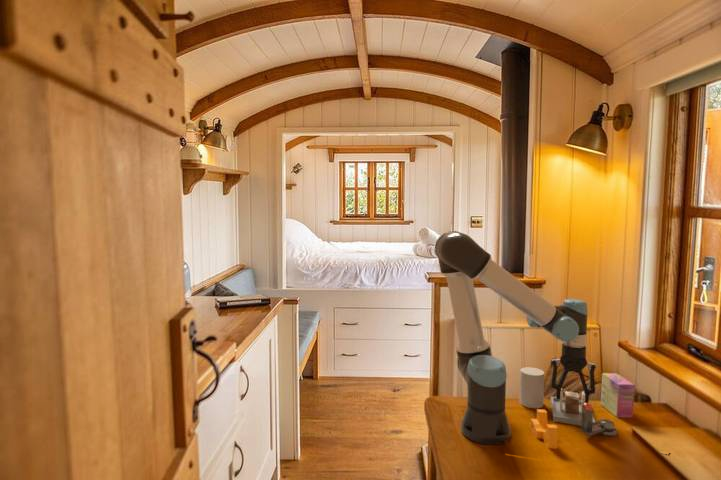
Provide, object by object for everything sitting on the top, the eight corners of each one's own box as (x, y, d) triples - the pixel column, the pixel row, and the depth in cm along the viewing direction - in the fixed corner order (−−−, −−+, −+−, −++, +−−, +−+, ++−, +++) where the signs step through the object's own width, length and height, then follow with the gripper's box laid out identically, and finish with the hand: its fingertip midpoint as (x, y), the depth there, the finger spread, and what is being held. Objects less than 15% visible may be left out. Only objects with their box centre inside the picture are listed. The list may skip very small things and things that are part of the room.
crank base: (591, 430, 139) (591, 427, 139) (600, 425, 143) (601, 422, 143) (664, 459, 123) (664, 456, 123) (672, 453, 127) (672, 449, 127)
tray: (553, 421, 146) (553, 416, 146) (550, 401, 161) (550, 396, 161) (595, 427, 141) (595, 422, 141) (588, 406, 157) (588, 401, 157)
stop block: (565, 412, 150) (566, 395, 150) (564, 407, 154) (565, 391, 154) (578, 414, 149) (579, 397, 148) (577, 409, 152) (578, 392, 152)
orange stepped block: (530, 428, 141) (531, 409, 141) (544, 429, 141) (545, 409, 140) (542, 448, 129) (542, 427, 129) (557, 449, 129) (557, 427, 129)
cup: (545, 401, 161) (546, 370, 160) (541, 410, 154) (542, 377, 153) (522, 396, 165) (523, 365, 164) (517, 404, 158) (518, 372, 158)
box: (633, 418, 148) (635, 384, 147) (616, 418, 148) (618, 384, 148) (616, 404, 159) (617, 372, 158) (600, 404, 159) (601, 372, 158)
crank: (604, 423, 142) (605, 394, 141) (617, 430, 138) (618, 399, 137) (576, 431, 136) (577, 401, 136) (589, 438, 132) (590, 406, 132)
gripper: (544, 344, 150) (542, 409, 151) (607, 350, 143) (604, 419, 144) (543, 338, 157) (541, 401, 158) (603, 344, 150) (601, 409, 151)
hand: (571, 409), depth 151 cm, fingers open, 6 cm apart
